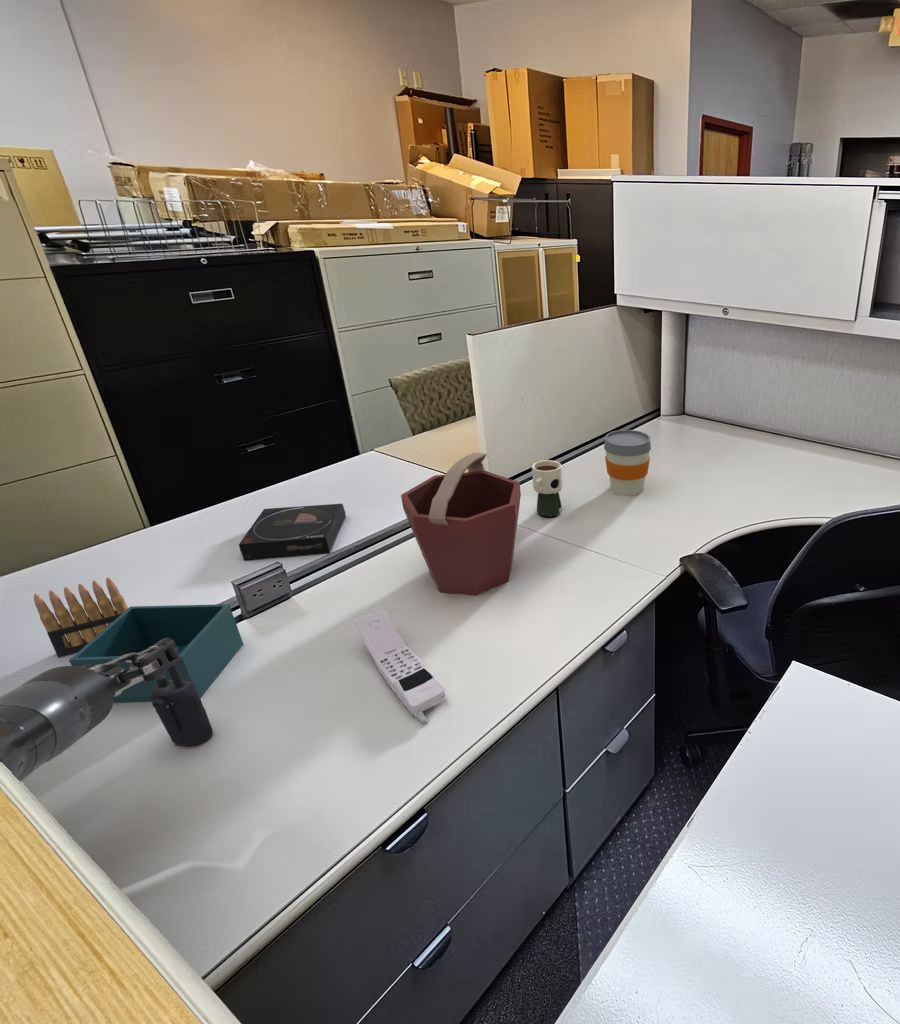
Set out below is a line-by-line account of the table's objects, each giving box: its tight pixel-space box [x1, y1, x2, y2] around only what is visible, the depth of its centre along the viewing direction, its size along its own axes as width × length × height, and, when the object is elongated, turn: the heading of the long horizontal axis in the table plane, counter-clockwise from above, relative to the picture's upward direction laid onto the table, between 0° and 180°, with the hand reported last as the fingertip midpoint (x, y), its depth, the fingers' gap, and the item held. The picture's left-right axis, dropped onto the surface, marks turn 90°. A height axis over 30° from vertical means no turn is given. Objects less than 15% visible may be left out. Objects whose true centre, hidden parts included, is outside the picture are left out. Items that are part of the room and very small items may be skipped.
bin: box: [68, 603, 244, 704], centre depth 99 cm, size 15×13×9 cm
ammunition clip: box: [33, 577, 129, 658], centre depth 103 cm, size 11×2×12 cm, turn 126°
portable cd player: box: [238, 503, 347, 562], centre depth 139 cm, size 16×17×4 cm
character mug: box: [531, 459, 564, 517], centre depth 152 cm, size 11×7×13 cm, turn 163°
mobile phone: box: [352, 607, 447, 724], centre depth 101 cm, size 6×6×25 cm
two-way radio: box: [151, 664, 214, 746], centre depth 85 cm, size 6×4×15 cm
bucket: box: [400, 451, 522, 596], centre depth 124 cm, size 24×22×25 cm
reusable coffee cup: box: [603, 429, 652, 497], centre depth 167 cm, size 13×13×15 cm
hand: (131, 658), depth 76 cm, fingers open, 8 cm apart
